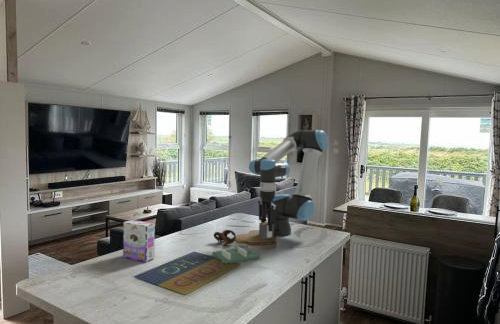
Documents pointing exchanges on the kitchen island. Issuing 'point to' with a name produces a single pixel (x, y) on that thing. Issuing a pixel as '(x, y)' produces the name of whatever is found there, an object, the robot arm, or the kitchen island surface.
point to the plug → (264, 230)
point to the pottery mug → (225, 237)
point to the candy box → (138, 240)
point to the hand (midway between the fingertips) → (266, 235)
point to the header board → (236, 254)
